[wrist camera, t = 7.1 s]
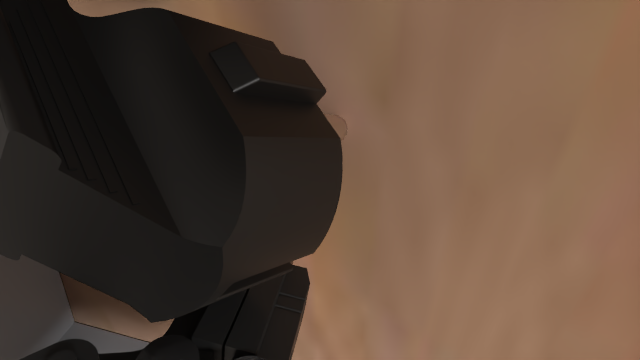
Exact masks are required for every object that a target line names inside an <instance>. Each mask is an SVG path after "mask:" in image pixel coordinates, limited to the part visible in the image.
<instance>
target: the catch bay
mask: <svg viewBox="0 0 640 360" xmlns="http://www.w3.org/2000/svg"><path fill="white" fill-rule="evenodd" d="M67 339H83V340H86V341H89V342H90V343H92V344H93V345H94V346H95V347H96V349H97V351H98V354H102V353H120V352H132V351H137V350H141V349H144V348H145V347H146V346H147V345H148V344H149V343H148V342H145V341H141V340H138V339H134V338H130V337H127V336H123V335H119V334H116V333H112V332H109V331H105V330H101V329H98V328H94V327H90V326H87V325H83V324H80V323H76V322H74V318H73V315H72V312H71V309H70V306H69V303H68V299H67V296H66V293H65V290H64V287H63V284H62V280H61V277H60V274H59V272H58V271H56V270H54V269H52V268H49V267H47V266H45V265H43V264H41V263H39V262H37V261H34V260H32V259H30V258H28V257H26V256H24V255H22V254H21V257H20V259H19V260H12V259H9V258H7V257H4V256H2V255H0V360H19V359H21V358H24V357H26V356H28V355H30V354H32V353H35V352H37V351H39V350H41V349H43V348H46V347H48V346H50V345H52V344H55V343H57V342H60V341H63V340H67Z"/></svg>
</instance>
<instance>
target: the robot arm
mask: <svg viewBox="0 0 640 360" xmlns="http://www.w3.org/2000/svg"><path fill="white" fill-rule="evenodd" d="M290 263H291V265H292V264H293V261H291V262H290ZM292 267H293V270H292V271H290V272H288V273H286V274H284V275H281V276H279V277H276V278H274V279H271V280H269V281H266V282H264V283H261V284H259V285H256V286H254V287H251V288H249V289H246V290H244V291H241V292H239V293H236V294H234V295H231V296H229V297H226V298H224V299H221V300H219V301H216V302H214V303H211V304H209V305H207V306H204V307H202V308H200V309H197V310H195V311H193V312H190V313H188V314H186V315H183V316H180V317H177V318H175V319H174V321H173V322H172V324H171V326H170V327H169V329H168V330H167V332H166V333H165V334H164V335H163V336H162V337H160V338H158V339H156V340H154V341H152V342H151V343H149V344H148V345H147V346H146V347H145V348H144V349H141V350H137V351H132V352H120V353H102V354H98V351H97V349H96V347H95V346H94V345H93V344H92V343H90V342H89V341H86V340H83V339H67V340H63V341H60V342H57V343H55V344H52V345H50V346H48V347H46V348H43V349H41V350H39V351H37V352H35V353H32V354H30V355H28V356H26V357H24V358H21V359H19V360H291V359H292V355H293V352H294V348H295V344H296V340H297V337H298V333H299V329H300V326H301V322H302V318H303V314H304V310H305V305H306V300H307V295H308V290H309V286H310V281H309V277H308V272H307V268H303V267H299V266H295V265H292Z"/></svg>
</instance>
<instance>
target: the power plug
mask: <svg viewBox="0 0 640 360" xmlns="http://www.w3.org/2000/svg"><path fill="white" fill-rule="evenodd" d="M325 93H326V89H325V87H324V86H323V85H322V83H321V82H320V81H319V79H318V78H317V76H316V75H315V74H314V72H313V71H312V70H311V68H310V67H309V65H308V64H307V63H306V61H305V60H302V59H298V58H295V57H291V56H287V55H284V54H281V53H280V51H279V50H278V49H277V47H276V46H275V44H274V43H273V42H272V41H268V40H265V39H262V38H258V37H255V36H252V35H248V34H245V33H242V32H238V31H235V30H232V29H228V28H225V27H222V26H219V25H215V24H212V23H209V22H205V21H202V20H199V19H195V18H192V17H189V16H185V15H182V14H179V13H175V12H172V11H169V10H165V9H161V8H142V9H136V10H131V11H126V12H122V13H118V14H114V15H108V16H103V17H88V16H84V15H81V14H79V13H77V12H76V11H74V10H73V9H72V8H71V7H70V5H69V4H68V1H67V0H0V255H2V256H4V257H7V258H9V259H12V260H19V259H20V257H21V254H22V255H24V256H26V257H28V258H30V259H32V260H34V261H37V262H39V263H41V264H43V265H45V266H47V267H49V268H52V269H54V270H56V271H58V272H60V273H62V274H64V275H67V276H69V277H71V278H73V279H75V280H77V281H80V282H82V283H84V284H86V285H88V286H90V287H92V288H95V289H97V290H99V291H101V292H103V293H105V294H107V295H110V296H112V297H114V298H116V299H118V300H120V301H123V302H125V303H127V304H128V305H130V306H131V307H132V308H134V309H135V310H136V311H138V312H139V313H140V314H142V315H143V316H144V317H146V318H147V319H148V320H149V321H150V322H151V323H152V322H159V321H165V320H169V319H174V318H177V317H180V316H183V315H186V314H188V313H190V312H193V311H195V310H197V309H200V308H202V307H204V306H207V305H209V304H211V303H214V302H216V301H219V300H221V299H224V298H226V297H229V296H231V295H234V294H236V293H239V292H241V291H244V290H246V289H249V288H251V287H254V286H256V285H259V284H261V283H264V282H266V281H269V280H271V279H274V278H276V277H279V276H281V275H284V274H286V273H288V272H290V271H292V270H293V267H292V265H291V263H290V262H291V261H294V260H296V259H299V258H302V257H304V256H307V255H310V254H312V253H314V252H315V251H316V249H317V248H318V247H319V245H320V244H321V242H322V241H323V239H324V237H325V236H326V234H327V232H328V230H329V228H330V225H331V223H332V221H333V218H334V215H335V212H336V209H337V205H338V201H339V196H340V191H341V182H342V148H341V140H343V139H344V138H345V136H346V134H347V123H346V121H345V120H344V119H343V118H342V117H340V116H337V115H331V114H323V113H322V111H321V110H320V108H319V107H318V105H317V102H318V101H319V100H320V99H321V98H322V97H323V95H324V94H325Z"/></svg>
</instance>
